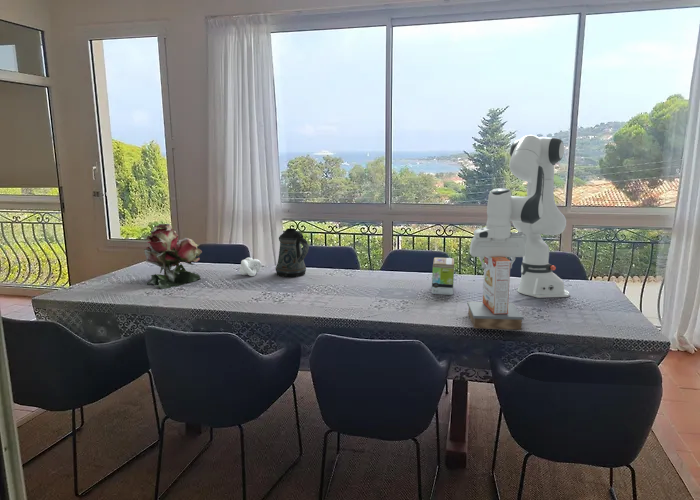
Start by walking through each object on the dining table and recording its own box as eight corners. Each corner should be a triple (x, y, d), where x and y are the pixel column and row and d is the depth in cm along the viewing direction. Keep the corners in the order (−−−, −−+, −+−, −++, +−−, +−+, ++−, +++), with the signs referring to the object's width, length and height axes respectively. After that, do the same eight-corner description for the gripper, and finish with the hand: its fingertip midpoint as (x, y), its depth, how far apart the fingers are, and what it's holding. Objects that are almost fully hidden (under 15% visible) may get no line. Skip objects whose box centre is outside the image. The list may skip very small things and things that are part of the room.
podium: (512, 314, 200) (512, 302, 199) (522, 330, 182) (523, 317, 181) (466, 313, 201) (467, 301, 200) (473, 328, 184) (473, 315, 183)
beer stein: (280, 270, 278) (279, 226, 273) (314, 271, 275) (313, 226, 270) (271, 277, 262) (270, 230, 257) (307, 278, 259) (306, 231, 254)
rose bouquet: (209, 277, 263) (206, 221, 257) (164, 290, 238) (159, 229, 232) (176, 272, 275) (172, 218, 270) (130, 283, 251) (125, 225, 245)
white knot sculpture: (233, 275, 266) (232, 259, 265) (249, 271, 276) (249, 255, 274) (248, 278, 260) (247, 261, 258) (264, 273, 270) (263, 257, 268)
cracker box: (481, 303, 198) (483, 252, 194) (496, 303, 198) (499, 252, 194) (492, 314, 184) (495, 259, 180) (508, 314, 184) (511, 259, 180)
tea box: (453, 295, 227) (454, 264, 224) (431, 294, 229) (432, 263, 226) (453, 286, 242) (454, 257, 239) (432, 285, 244) (433, 256, 241)
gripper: (524, 230, 187) (522, 266, 190) (469, 230, 189) (468, 265, 192) (528, 233, 181) (526, 270, 184) (472, 233, 183) (470, 269, 186)
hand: (496, 268), depth 188 cm, fingers open, 8 cm apart
